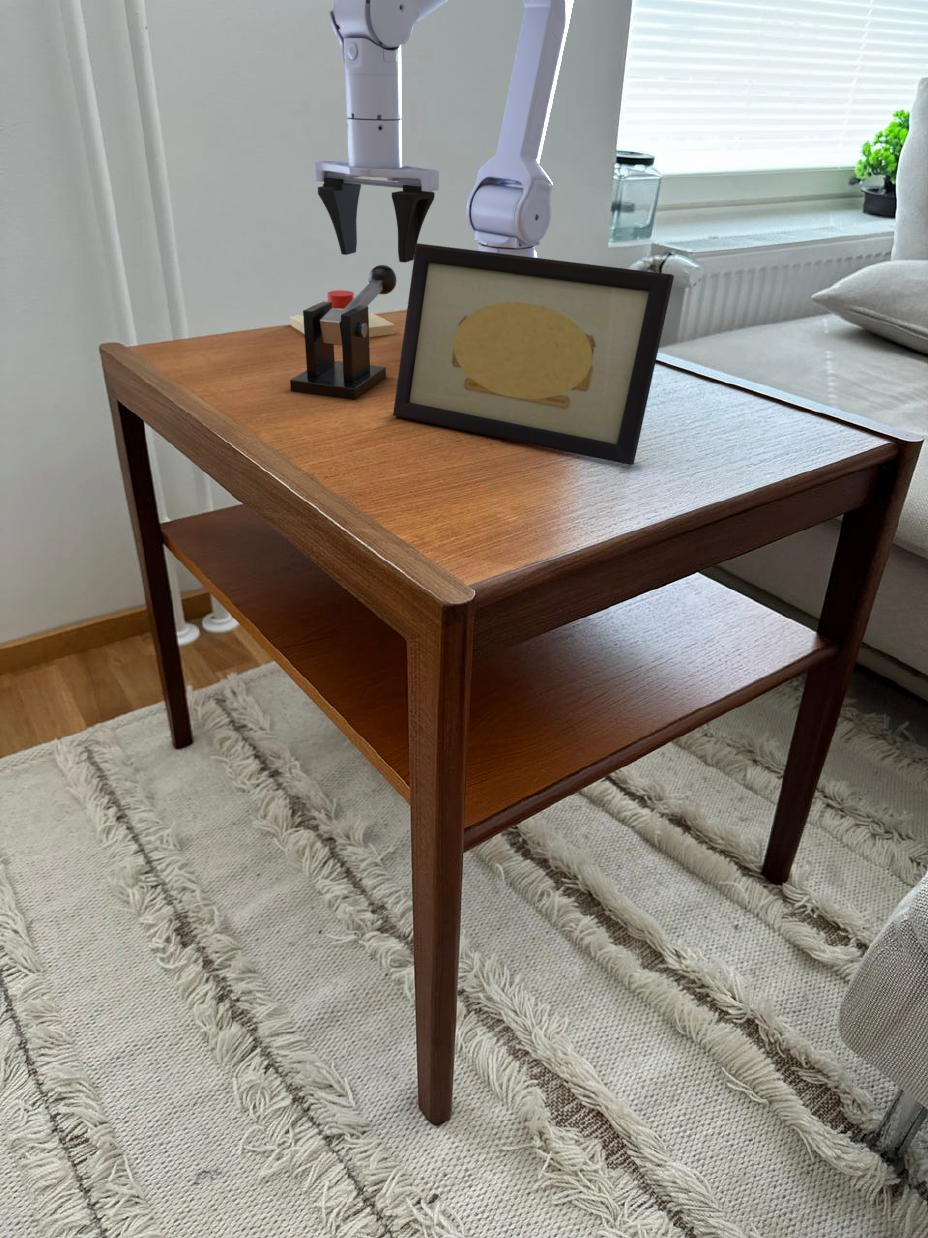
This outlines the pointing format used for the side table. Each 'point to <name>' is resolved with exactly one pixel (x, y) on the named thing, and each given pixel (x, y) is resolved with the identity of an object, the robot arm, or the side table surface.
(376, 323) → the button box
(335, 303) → the button
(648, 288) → the picture frame
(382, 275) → the lever
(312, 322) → the bracket
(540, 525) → the side table surface
